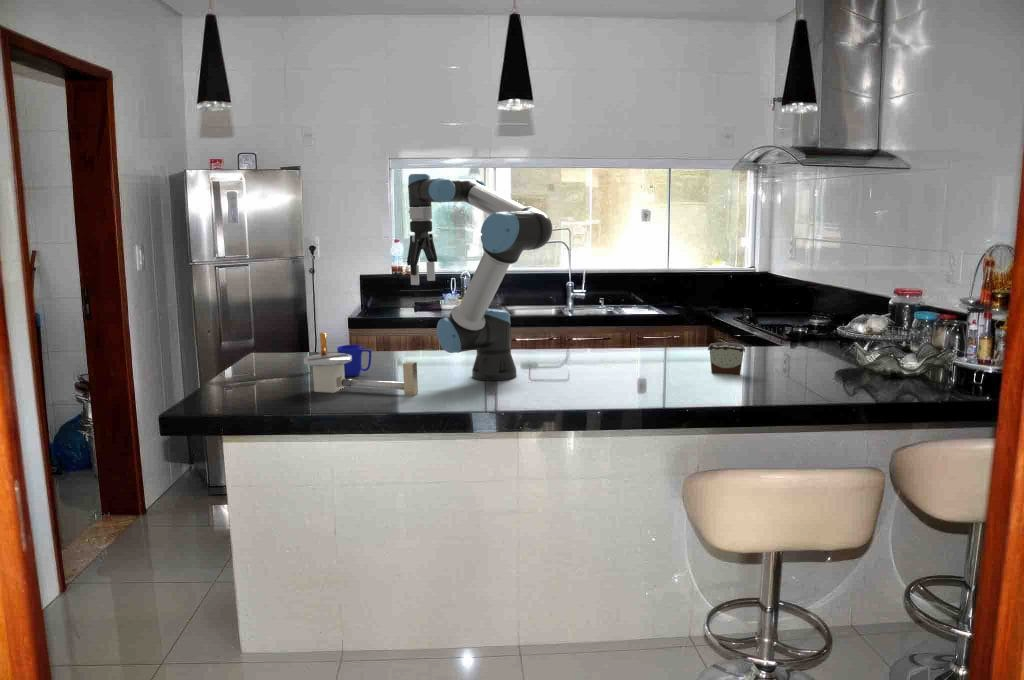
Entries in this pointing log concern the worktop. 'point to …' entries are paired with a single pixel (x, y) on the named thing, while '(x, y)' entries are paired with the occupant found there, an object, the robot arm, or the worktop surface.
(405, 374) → the hook rod
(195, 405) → the worktop surface
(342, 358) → the handwheel
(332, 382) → the eye block
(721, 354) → the food container
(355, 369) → the mug
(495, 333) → the robot arm
